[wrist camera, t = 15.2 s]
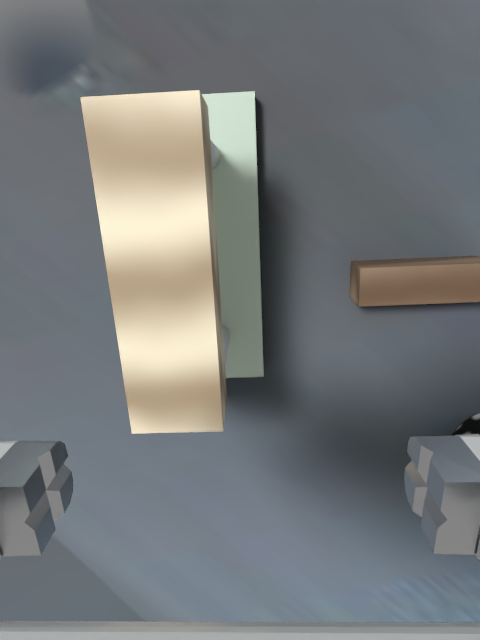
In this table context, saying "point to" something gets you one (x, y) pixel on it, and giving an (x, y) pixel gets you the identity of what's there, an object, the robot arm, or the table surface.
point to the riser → (415, 281)
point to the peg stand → (237, 229)
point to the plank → (161, 255)
